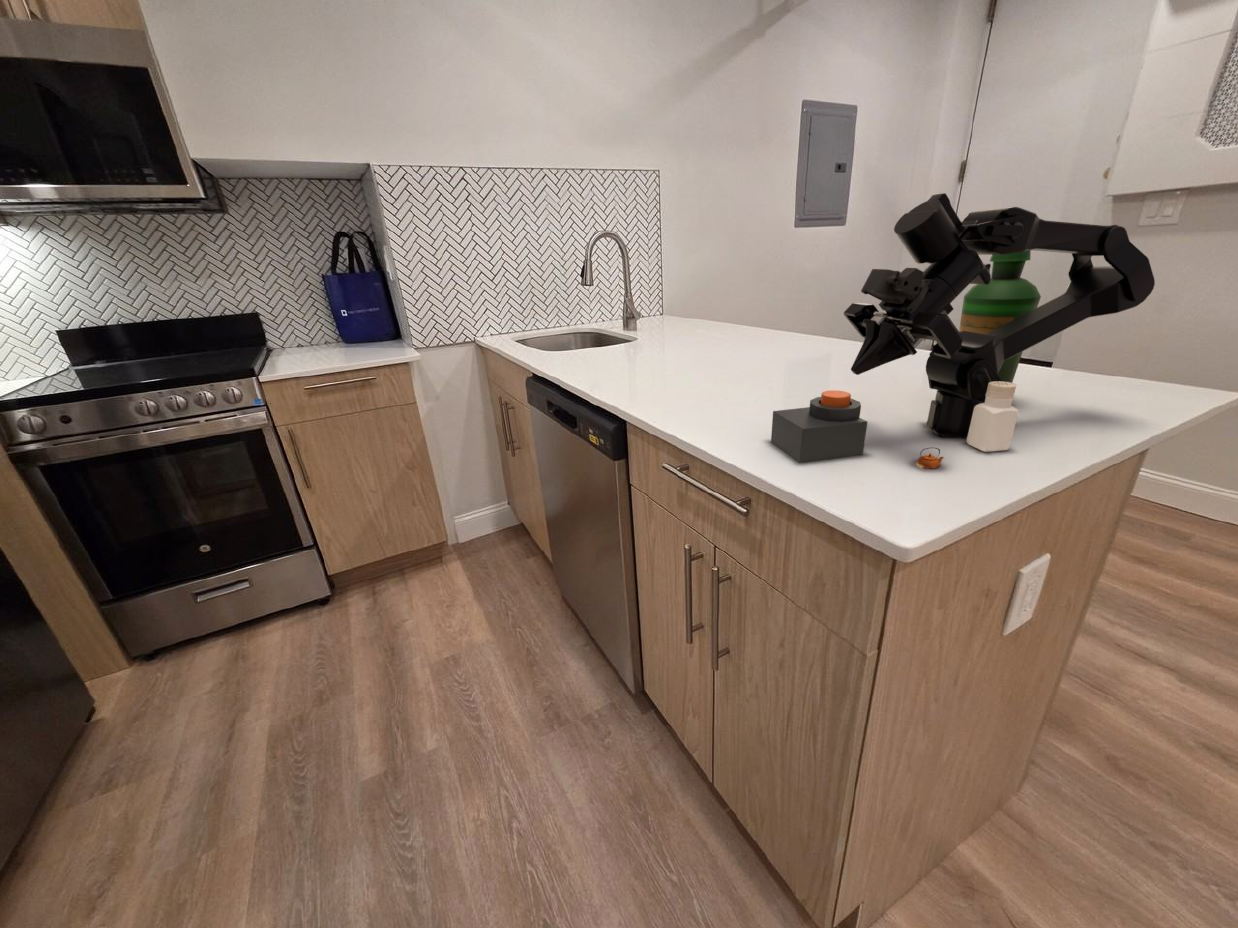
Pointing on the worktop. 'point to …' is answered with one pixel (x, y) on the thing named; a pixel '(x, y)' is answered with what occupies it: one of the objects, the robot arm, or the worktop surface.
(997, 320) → the bottle
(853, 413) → the push button base
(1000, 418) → the pepper shaker
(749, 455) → the worktop surface
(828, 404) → the orange push button
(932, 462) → the teapot
